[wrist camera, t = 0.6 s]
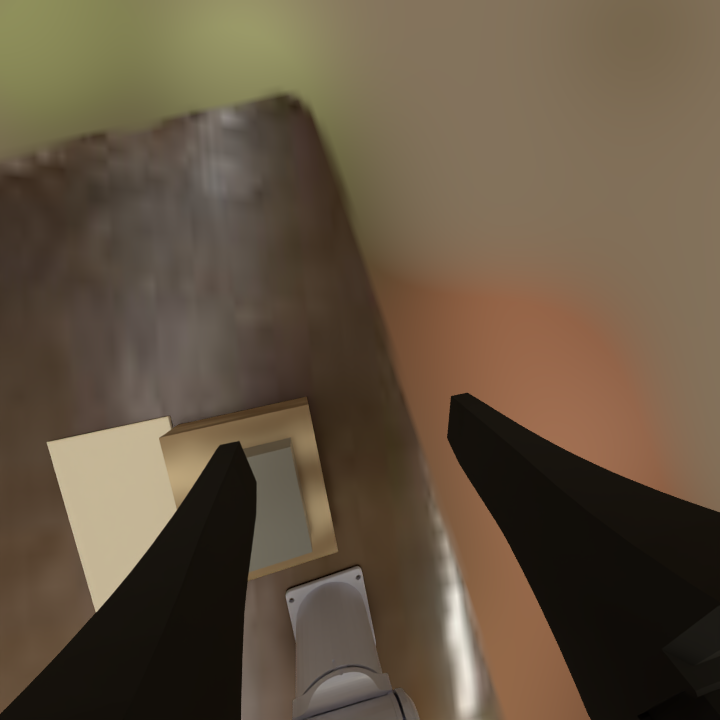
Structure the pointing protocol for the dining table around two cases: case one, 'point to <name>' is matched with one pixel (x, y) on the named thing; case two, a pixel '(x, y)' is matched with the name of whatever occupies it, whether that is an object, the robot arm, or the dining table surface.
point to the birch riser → (252, 427)
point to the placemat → (114, 498)
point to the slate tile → (278, 505)
